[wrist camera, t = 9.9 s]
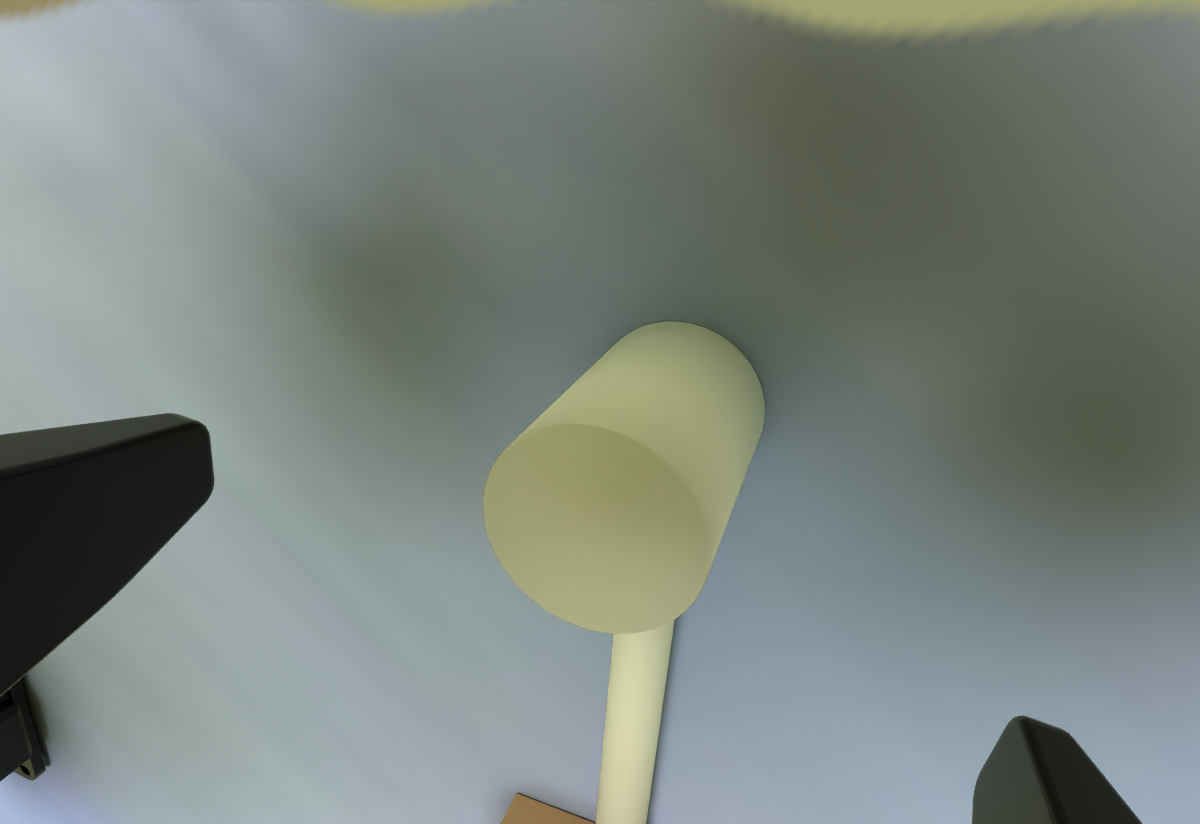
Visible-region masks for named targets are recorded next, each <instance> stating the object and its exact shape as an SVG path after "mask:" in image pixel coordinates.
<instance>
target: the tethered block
mask: <svg viewBox="0 0 1200 824" xmlns="http://www.w3.org/2000/svg"><path fill="white" fill-rule="evenodd" d="M764 418H765V401H764V396H763V391H762V388H761V385H760V382H759V379H758V377H757V375H756V373H755V371H754V369H753V367H752V366H751V364H750V363H749V361H748V360H747V359H746V358H745V356H744V355H743V354H742V353H741V352H740V351H739V350H738V349H737V348H736V347H735V346H734V345H733V344H732V343H731V342H729V341H728V340H726V339H725V338H723V337H722V336H721V335H719V334H717V333H715V332H713V331H711V330H709V329H706V328H704V327H701V326H698V325H694V324H690V323H684V322H659V323H653V324H649V325H646V326H642V327H640V328H638V329H636V330H634V331H632V332H630V333H629V334H627V335H625V336H624V337H623V338H621V339H620V340H619V341H618V342H617V343H616V344H615V345H614V346H613V347H612V348H610V349H609V350H608V351H607V352H606V353H605V354H604V355H603V356H602V357H601V358H600V359H599V360H598V361H597V362H596V363H595V364H594V365H593V366H592V367H591V368H590V369H588V370H587V371H586V372H585V373H584V374H583V375H582V376H581V377H580V378H579V379H578V380H577V381H576V382H575V383H574V384H573V385H572V386H571V387H570V388H569V389H568V390H567V391H565V392H564V393H563V394H562V395H561V396H560V397H559V398H558V399H557V400H556V401H555V402H554V403H553V404H552V405H551V406H550V407H549V408H548V409H547V410H546V411H545V412H543V413H542V414H541V415H540V416H539V417H538V418H537V419H536V420H535V421H534V422H533V423H532V424H531V425H530V426H529V427H528V428H527V429H526V430H525V431H524V432H523V433H521V434H520V435H519V436H518V437H517V438H516V439H515V440H514V441H513V442H512V443H511V444H510V445H509V446H508V447H507V448H506V449H505V450H504V451H503V452H502V454H501V455H500V456H499V457H498V458H497V460H496V462H495V463H494V465H493V467H492V468H491V471H490V473H489V476H488V478H487V481H486V485H485V490H484V498H483V513H484V522H485V527H486V531H487V534H488V538H489V541H490V544H491V546H492V548H493V550H494V552H495V555H496V557H497V558H498V560H499V562H500V563H501V565H502V567H503V568H504V570H505V571H506V572H507V574H508V575H509V576H510V578H511V579H512V580H513V582H514V583H515V584H516V585H517V586H518V587H519V588H520V589H521V590H522V591H523V592H524V593H525V594H526V595H527V596H528V597H529V598H531V599H532V600H533V601H534V602H535V603H537V604H538V605H540V606H541V607H542V608H544V609H545V610H547V611H548V612H550V613H552V614H553V615H555V616H557V617H559V618H561V619H563V620H565V621H567V622H569V623H571V624H574V625H577V626H580V627H582V628H586V629H590V630H594V631H598V632H604V633H612V634H613V645H612V655H611V666H610V676H609V686H608V697H607V707H606V718H605V728H604V739H603V749H602V759H601V770H600V780H599V791H598V801H597V811H596V822H595V823H593V822H590V821H588V820H585V819H583V818H580V817H577V816H575V815H572V814H569V813H567V812H564V811H562V810H559V809H556V808H554V807H551V806H549V805H546V804H543V803H541V802H538V801H535V800H533V799H530V798H528V797H525V796H522V795H520V794H516V796H515V798H514V800H513V801H512V803H511V805H510V807H509V809H508V811H507V813H506V815H505V817H504V818H503V820H502V822H501V824H646V821H647V814H648V807H649V800H650V792H651V785H652V778H653V771H654V764H655V757H656V750H657V742H658V735H659V728H660V721H661V714H662V707H663V700H664V693H665V685H666V678H667V671H668V664H669V657H670V650H671V643H672V635H673V628H674V621H675V619H676V618H677V617H679V616H680V615H681V614H683V613H684V612H685V611H686V610H687V609H688V608H689V607H690V606H691V605H692V604H693V603H694V601H695V600H696V598H697V597H698V595H699V594H700V592H701V590H702V588H703V586H704V583H705V581H706V579H707V576H708V573H709V571H710V568H711V565H712V563H713V560H714V557H715V555H716V552H717V550H718V547H719V544H720V542H721V539H722V536H723V534H724V531H725V528H726V526H727V523H728V521H729V518H730V515H731V513H732V510H733V507H734V505H735V502H736V499H737V497H738V494H739V491H740V489H741V486H742V484H743V481H744V478H745V476H746V473H747V470H748V468H749V465H750V462H751V460H752V457H753V454H754V452H755V449H756V447H757V444H758V441H759V439H760V436H761V433H762V429H763V425H764Z"/></svg>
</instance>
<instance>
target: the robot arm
mask: <svg viewBox="0 0 1200 824" xmlns="http://www.w3.org/2000/svg"><path fill="white" fill-rule="evenodd" d="M213 487H214V472H213V462H212V452H211V442H210V435H209V432H208V430H207V428H206V426H205V425H203V424H202V423H201V422H199V421H196V420H193V419H190V418H188V417H185V416H182V415H179V414H173V413H166V414H158V415H151V416H143V417H135V418H127V419H119V420H112V421H104V422H96V423H88V424H80V425H73V426H65V427H57V428H49V429H42V430H34V431H26V432H18V433H10V434H3V435H0V781H1V780H3V779H4V778H5V777H6V776H8V775H9V774H10V773H12V772H13V771H14V772H16V773H18V774H19V775H21V776H23V777H25V778H27V779H29V780H35V779H36V778H37V777H38V776H40V775H41V774H42V773H43V772H44V771H45V770H46V769H45V764H44V761H43V757H42V754H41V750H40V746H39V743H38V739H37V736H36V732H35V729H34V725H33V722H32V718H31V715H30V711H29V707H28V704H27V700H26V697H25V693H24V690H23V686H22V683H21V678H22V677H23V676H25V675H26V674H27V673H28V672H29V671H30V670H31V669H33V668H34V667H35V666H36V665H37V664H38V663H39V662H41V661H42V660H43V659H44V658H45V657H46V656H47V655H49V654H50V653H51V652H52V651H53V650H54V649H56V648H57V647H58V646H59V645H60V644H61V643H62V642H64V641H65V640H66V639H67V638H68V637H69V636H70V635H72V634H73V633H74V632H75V631H76V630H77V629H78V628H80V627H81V626H82V625H83V624H84V623H85V622H86V621H88V620H89V619H90V618H91V617H92V616H93V615H95V614H96V613H97V612H98V611H99V610H100V609H101V608H102V607H103V606H105V605H106V604H107V603H108V602H109V601H110V600H111V599H112V598H113V597H114V596H115V595H116V594H117V593H118V592H119V591H120V590H122V589H123V588H124V587H125V586H126V585H127V584H128V583H129V582H130V581H131V580H132V579H133V577H134V576H135V575H136V574H137V573H138V572H139V571H140V570H141V569H142V568H143V567H144V566H145V565H146V564H147V563H148V562H149V561H150V560H151V559H152V558H153V557H154V556H155V555H156V554H157V553H158V552H159V551H160V549H161V548H162V547H163V546H164V545H165V544H166V543H167V542H168V541H169V540H170V539H171V538H172V537H173V536H174V535H175V534H176V533H177V532H178V531H179V530H180V529H181V528H182V527H183V526H184V525H185V524H186V523H187V521H188V520H189V519H190V518H191V517H192V516H193V515H194V514H195V513H196V512H197V511H198V510H199V509H200V508H201V507H202V506H203V505H204V504H205V503H206V501H207V500H208V499H209V497H210V495H211V493H212V491H213ZM972 824H1142V822H1141V821H1140V820H1139V819H1138V817H1137V816H1136V815H1135V814H1134V813H1133V811H1132V810H1131V809H1130V808H1129V806H1128V805H1127V804H1126V803H1125V801H1124V800H1123V799H1122V798H1121V796H1120V795H1119V794H1118V793H1117V791H1116V790H1115V789H1114V788H1113V786H1112V785H1111V784H1110V783H1109V781H1108V780H1107V779H1106V778H1105V777H1104V775H1103V774H1102V773H1101V772H1100V770H1099V769H1098V768H1097V767H1096V765H1095V764H1094V763H1093V762H1092V760H1091V759H1090V758H1089V757H1088V755H1087V754H1086V753H1085V752H1084V750H1083V749H1082V748H1081V747H1080V745H1079V744H1078V743H1077V742H1076V741H1075V739H1074V738H1073V737H1072V736H1071V735H1070V734H1069V733H1067V732H1066V731H1064V730H1063V729H1060V728H1058V727H1055V726H1052V725H1049V724H1047V723H1044V722H1041V721H1038V720H1035V719H1032V718H1030V717H1027V716H1017V717H1014V718H1013V719H1012V720H1011V721H1010V722H1009V723H1008V725H1007V726H1006V728H1005V729H1004V731H1003V733H1002V735H1001V736H1000V738H999V740H998V742H997V743H996V745H995V747H994V749H993V750H992V752H991V754H990V756H989V757H988V759H987V761H986V763H985V765H984V766H983V768H982V770H981V772H980V774H979V776H978V779H977V782H976V786H975V790H974V797H973V814H972Z"/></svg>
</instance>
